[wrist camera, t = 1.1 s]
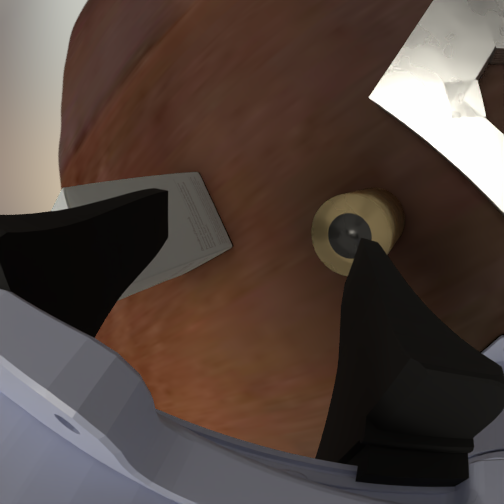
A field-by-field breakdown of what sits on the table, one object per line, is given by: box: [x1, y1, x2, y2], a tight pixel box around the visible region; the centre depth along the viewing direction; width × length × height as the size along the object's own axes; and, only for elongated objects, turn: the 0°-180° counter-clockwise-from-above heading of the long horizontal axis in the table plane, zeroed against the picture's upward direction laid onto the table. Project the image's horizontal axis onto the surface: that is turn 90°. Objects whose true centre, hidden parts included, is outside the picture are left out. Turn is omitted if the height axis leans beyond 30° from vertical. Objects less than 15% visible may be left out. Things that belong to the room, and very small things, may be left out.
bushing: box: [311, 188, 405, 276], centre depth 17 cm, size 4×4×6 cm
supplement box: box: [51, 172, 232, 301], centre depth 24 cm, size 7×7×13 cm
